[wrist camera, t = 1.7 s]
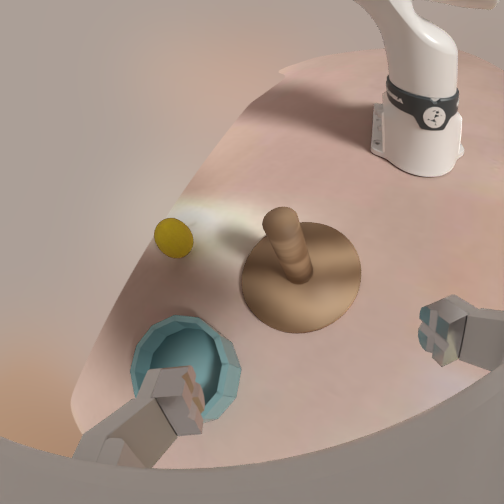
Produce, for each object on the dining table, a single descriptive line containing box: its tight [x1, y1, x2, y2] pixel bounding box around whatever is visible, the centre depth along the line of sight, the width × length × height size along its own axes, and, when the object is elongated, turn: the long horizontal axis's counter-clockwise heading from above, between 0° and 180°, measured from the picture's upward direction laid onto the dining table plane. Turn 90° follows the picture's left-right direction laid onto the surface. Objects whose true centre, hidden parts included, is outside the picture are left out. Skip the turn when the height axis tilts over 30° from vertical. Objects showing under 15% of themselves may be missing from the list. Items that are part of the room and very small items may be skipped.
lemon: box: [154, 218, 193, 258], centre depth 42 cm, size 6×6×8 cm
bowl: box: [130, 315, 241, 423], centre depth 33 cm, size 14×14×4 cm
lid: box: [242, 207, 361, 333], centre depth 32 cm, size 16×16×12 cm
